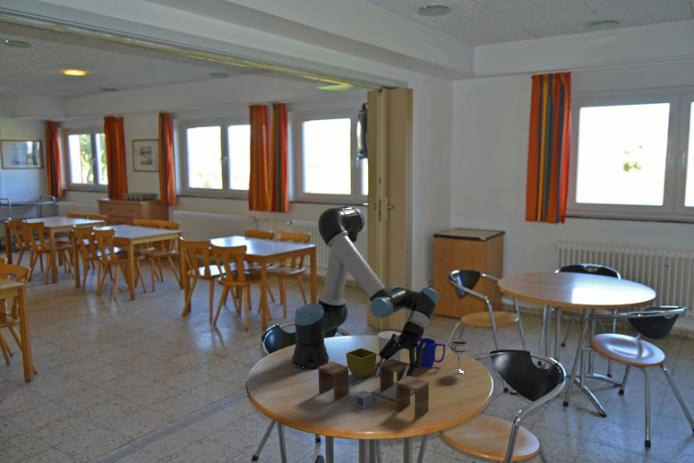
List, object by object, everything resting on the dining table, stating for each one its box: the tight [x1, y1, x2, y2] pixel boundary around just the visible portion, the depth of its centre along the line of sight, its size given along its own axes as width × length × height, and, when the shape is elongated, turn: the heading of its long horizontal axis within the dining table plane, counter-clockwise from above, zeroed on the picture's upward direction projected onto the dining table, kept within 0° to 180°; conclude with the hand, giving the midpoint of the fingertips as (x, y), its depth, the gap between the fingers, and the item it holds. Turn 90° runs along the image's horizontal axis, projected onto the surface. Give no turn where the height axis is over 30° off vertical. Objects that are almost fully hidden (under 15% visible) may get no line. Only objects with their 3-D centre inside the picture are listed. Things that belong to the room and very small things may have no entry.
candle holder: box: [377, 330, 402, 362], centre depth 219 cm, size 10×10×12 cm
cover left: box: [317, 361, 350, 401], centre depth 191 cm, size 8×7×10 cm
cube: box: [355, 390, 373, 410], centre depth 182 cm, size 4×4×4 cm
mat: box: [371, 381, 415, 402], centre depth 192 cm, size 12×12×1 cm
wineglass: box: [449, 338, 469, 374], centre depth 209 cm, size 7×7×12 cm
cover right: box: [395, 376, 430, 419], centre depth 177 cm, size 8×7×10 cm
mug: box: [415, 337, 446, 368], centre depth 216 cm, size 8×12×10 cm
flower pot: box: [345, 347, 378, 379], centre depth 207 cm, size 9×9×9 cm
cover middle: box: [379, 359, 410, 392], centre depth 192 cm, size 8×7×10 cm
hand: (389, 380), depth 189 cm, fingers open, 10 cm apart
